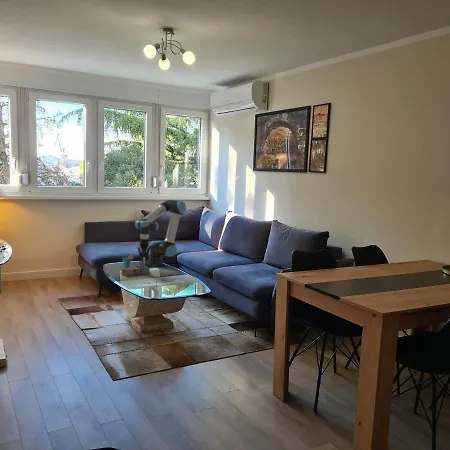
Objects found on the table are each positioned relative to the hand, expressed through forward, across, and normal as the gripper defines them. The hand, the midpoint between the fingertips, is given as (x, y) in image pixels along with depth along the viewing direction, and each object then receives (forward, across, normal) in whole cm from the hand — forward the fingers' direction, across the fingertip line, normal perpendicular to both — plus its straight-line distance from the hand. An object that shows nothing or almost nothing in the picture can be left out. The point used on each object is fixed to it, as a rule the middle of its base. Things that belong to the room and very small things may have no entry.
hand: (143, 264), depth 390 cm
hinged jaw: (+7, +10, +2) cm, 12 cm away
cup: (+8, +9, -17) cm, 21 cm away
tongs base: (+7, +7, -1) cm, 10 cm away
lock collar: (+7, +1, 0) cm, 7 cm away
